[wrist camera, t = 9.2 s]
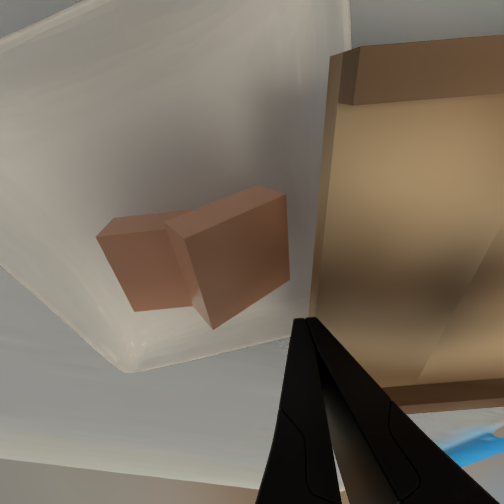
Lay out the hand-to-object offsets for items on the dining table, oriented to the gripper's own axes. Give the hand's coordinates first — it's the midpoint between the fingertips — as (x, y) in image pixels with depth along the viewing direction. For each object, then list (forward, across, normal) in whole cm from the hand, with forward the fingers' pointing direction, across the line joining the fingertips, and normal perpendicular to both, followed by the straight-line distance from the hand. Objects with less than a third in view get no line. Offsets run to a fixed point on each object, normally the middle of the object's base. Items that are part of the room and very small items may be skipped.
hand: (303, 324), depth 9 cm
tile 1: (+5, +3, -1) cm, 6 cm away
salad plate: (+10, +6, 0) cm, 11 cm away
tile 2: (+4, +6, 0) cm, 8 cm away
